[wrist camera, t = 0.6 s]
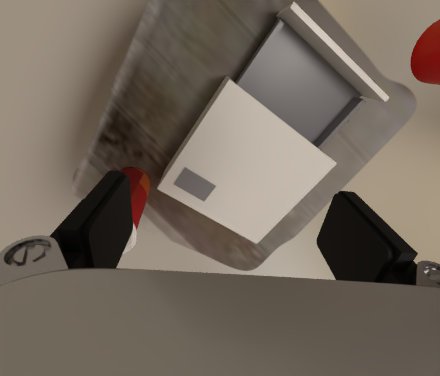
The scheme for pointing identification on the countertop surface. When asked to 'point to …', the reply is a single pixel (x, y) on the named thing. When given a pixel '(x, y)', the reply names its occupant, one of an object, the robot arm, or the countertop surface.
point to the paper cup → (136, 199)
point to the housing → (243, 164)
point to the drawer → (306, 78)
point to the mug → (427, 56)
